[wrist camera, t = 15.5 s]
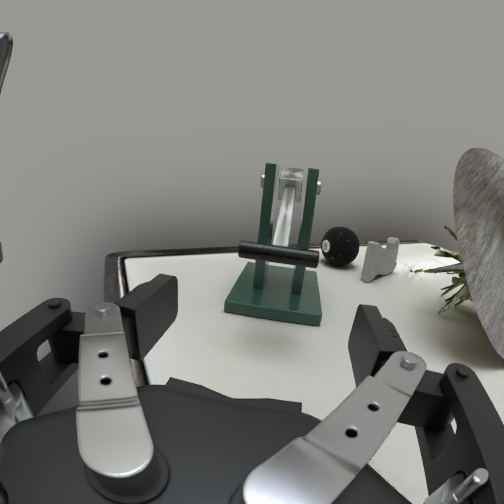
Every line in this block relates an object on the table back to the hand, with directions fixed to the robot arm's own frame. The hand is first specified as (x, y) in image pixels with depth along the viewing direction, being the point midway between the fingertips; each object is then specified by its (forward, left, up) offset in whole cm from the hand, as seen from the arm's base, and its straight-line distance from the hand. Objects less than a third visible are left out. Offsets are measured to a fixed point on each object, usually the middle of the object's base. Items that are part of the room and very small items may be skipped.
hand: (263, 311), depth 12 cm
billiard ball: (+14, +31, -7) cm, 35 cm away
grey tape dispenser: (+20, +27, -7) cm, 35 cm away
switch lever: (+3, +14, +2) cm, 14 cm away
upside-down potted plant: (+29, +11, -7) cm, 32 cm away
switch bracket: (+3, +18, -7) cm, 20 cm away
